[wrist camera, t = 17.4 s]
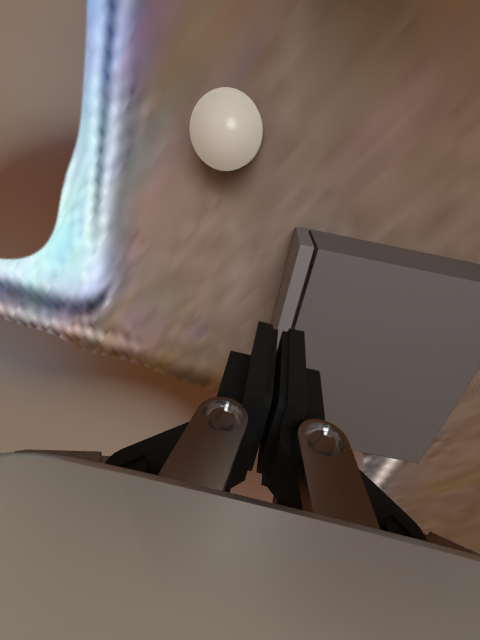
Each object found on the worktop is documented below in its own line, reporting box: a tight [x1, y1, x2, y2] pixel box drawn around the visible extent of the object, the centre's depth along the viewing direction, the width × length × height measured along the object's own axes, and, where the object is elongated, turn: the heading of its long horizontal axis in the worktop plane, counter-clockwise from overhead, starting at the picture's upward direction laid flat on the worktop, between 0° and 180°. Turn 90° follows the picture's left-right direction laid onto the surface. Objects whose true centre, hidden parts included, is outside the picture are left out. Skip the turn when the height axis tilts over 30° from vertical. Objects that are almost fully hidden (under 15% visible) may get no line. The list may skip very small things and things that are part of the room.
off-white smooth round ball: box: [190, 87, 264, 171], centre depth 25 cm, size 5×5×4 cm
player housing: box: [293, 229, 480, 464], centre depth 30 cm, size 15×18×6 cm
